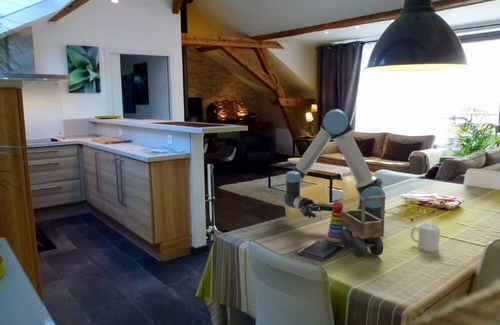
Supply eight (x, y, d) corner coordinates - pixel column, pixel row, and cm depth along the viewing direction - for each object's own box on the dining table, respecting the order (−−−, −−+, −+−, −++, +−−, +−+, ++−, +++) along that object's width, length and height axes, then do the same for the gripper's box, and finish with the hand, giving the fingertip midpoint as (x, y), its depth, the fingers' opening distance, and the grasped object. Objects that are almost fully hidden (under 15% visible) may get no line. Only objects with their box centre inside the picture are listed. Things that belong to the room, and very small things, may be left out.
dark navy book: (323, 259, 162) (292, 250, 171) (323, 263, 162) (292, 254, 172) (346, 245, 177) (316, 237, 186) (346, 249, 177) (316, 241, 187)
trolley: (359, 242, 183) (361, 186, 178) (383, 258, 165) (385, 196, 160) (340, 244, 181) (341, 187, 176) (361, 261, 162) (363, 198, 158)
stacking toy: (332, 244, 182) (332, 204, 179) (324, 238, 189) (324, 200, 186) (347, 242, 184) (348, 203, 181) (339, 236, 191) (340, 198, 188)
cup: (434, 253, 169) (435, 231, 167) (406, 246, 177) (407, 224, 176) (441, 248, 175) (442, 226, 173) (414, 241, 183) (415, 220, 181)
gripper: (322, 207, 212) (351, 218, 194) (284, 215, 200) (311, 227, 181) (322, 194, 211) (351, 203, 192) (284, 201, 198) (311, 211, 180)
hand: (331, 214), depth 187 cm, fingers open, 13 cm apart
